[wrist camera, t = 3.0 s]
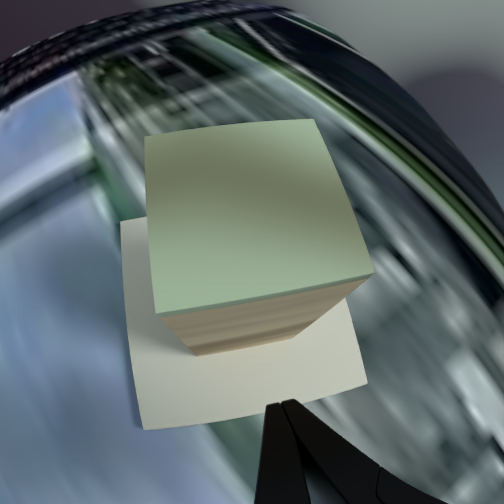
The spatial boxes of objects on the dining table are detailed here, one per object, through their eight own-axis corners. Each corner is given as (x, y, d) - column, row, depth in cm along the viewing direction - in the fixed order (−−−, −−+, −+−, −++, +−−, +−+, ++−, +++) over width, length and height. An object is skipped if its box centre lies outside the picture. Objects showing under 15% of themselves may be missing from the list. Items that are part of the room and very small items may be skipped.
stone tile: (364, 383, 16) (367, 383, 16) (145, 429, 14) (143, 430, 14) (310, 196, 20) (311, 193, 20) (122, 224, 19) (120, 221, 18)
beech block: (292, 338, 16) (374, 272, 7) (197, 356, 16) (156, 313, 6) (271, 251, 18) (313, 119, 9) (182, 265, 17) (144, 136, 8)
